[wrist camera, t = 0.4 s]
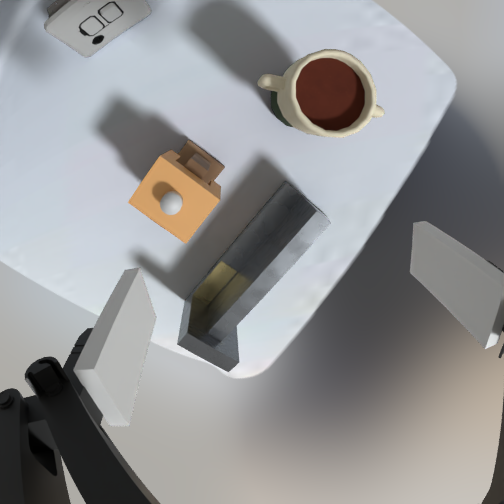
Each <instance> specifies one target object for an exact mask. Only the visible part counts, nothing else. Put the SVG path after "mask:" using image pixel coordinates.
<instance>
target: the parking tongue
mask: <svg viewBox="0 0 504 504" xmlns="http://www.w3.org/2000/svg"><path fill="white" fill-rule="evenodd" d="M178 155H180V156H181V157H180V158H179V159H178V161H177V162H178V163H180V164H181V165H183V166H184V167H185V168H187V169H188V170H189V171H191V172H192V173H193V174H195V175H196V176H197V177H199V178H200V179H201V180H203V181H204V182H205V183H207V184H208V183H209V182H210V181H211V180H213V181H214V180H215V179H216V178H217V176H218V175H219V174H220V173H221V171H222V170H223V169H224V168H225V166H224V165H222V164H221V163H220V162H218V161H217V160H216V159H214V158H213V157H212V156H210V155H209V154H208V153H206V152H205V151H204V150H202V149H201V148H200V147H198V146H197V145H196V144H194V143H193V142H192V141H190V140H188V142H187V143H186V144H185V145H184V147H183V148H182V149H181V151H180V152H179V153H178ZM148 218H149V217H148ZM151 220H152V219H151ZM155 223H156V222H155ZM158 225H159V224H158ZM161 227H162V226H161ZM162 228H163V227H162Z"/></svg>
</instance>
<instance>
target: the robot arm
mask: <svg viewBox="0 0 504 504" xmlns="http://www.w3.org/2000/svg"><path fill="white" fill-rule="evenodd" d="M410 273H411V274H412V275H413V276H414V277H415V278H416V279H417V280H418V281H420V282H421V283H422V284H423V285H424V286H425V287H426V288H427V289H428V290H429V291H430V292H431V293H432V294H433V295H434V296H435V297H436V298H437V299H438V300H439V301H440V302H441V303H442V304H443V305H444V306H445V307H446V308H447V309H448V310H449V311H450V312H451V313H452V314H453V315H454V316H455V317H456V318H457V320H459V322H460V323H461V324H462V325H463V326H464V327H465V328H466V329H467V330H468V331H469V332H470V333H471V334H472V335H473V337H475V339H476V340H477V341H478V342H479V343H480V344H481V345H482V346H483V348H485V349H486V348H488V347H491V346H493V345H495V344H497V343H498V340H499V338H500V335H501V332H502V331H503V332H504V272H503V271H502V270H501V269H500V268H497V266H495V265H494V264H493V263H491V262H490V261H487V260H485V259H483V258H482V257H480V256H479V255H477V254H476V253H474V252H473V251H471V250H470V249H468V248H467V247H465V246H464V245H462V244H461V243H460V242H458V241H456V240H455V239H453V238H452V237H450V236H449V235H447V234H446V233H444V232H442V231H441V230H439V229H438V228H436V227H435V226H433V225H431V224H430V223H428V222H426V221H423V222H417V223H414V224H413V241H412V255H411V267H410ZM155 321H156V314H155V312H154V309H153V306H152V303H151V300H150V297H149V294H148V291H147V288H146V285H145V282H144V278H143V275H142V272H141V269H140V268H134V269H128V270H125V271H124V273H123V275H122V276H121V278H120V280H119V282H118V283H117V285H116V287H115V289H114V291H113V292H112V294H111V296H110V298H109V300H108V302H107V303H106V305H105V307H104V309H103V311H102V313H101V315H100V317H99V318H98V320H97V322H96V324H95V326H94V328H88V329H87V330H86V331H84V332H83V333H82V334H81V335H80V336H79V338H78V340H77V342H76V343H75V347H73V349H72V351H71V354H70V355H69V357H68V359H67V361H66V363H65V365H64V367H63V369H62V367H61V365H60V363H59V362H58V361H57V359H56V358H54V357H44V358H41V359H39V360H37V361H35V362H34V363H32V364H31V365H30V366H29V368H28V369H27V371H26V373H25V380H26V382H27V383H28V384H29V386H30V387H31V389H32V390H33V392H34V393H35V394H36V395H34V396H30V397H26V398H23V397H22V395H21V394H20V392H19V391H18V390H17V389H13V388H11V389H7V390H5V391H2V392H1V393H0V504H71V503H70V499H69V495H68V490H67V486H66V482H65V476H64V471H63V466H62V460H61V456H62V458H63V461H64V463H65V465H66V467H67V469H68V471H69V473H70V475H71V477H72V479H73V481H74V483H75V484H76V486H77V488H78V490H79V492H80V494H81V495H82V497H83V499H84V501H85V502H86V504H160V503H159V502H158V500H157V499H156V498H155V497H154V496H153V495H152V493H151V492H150V491H149V490H148V489H147V488H146V487H145V485H144V484H143V483H142V481H141V480H140V479H139V478H138V476H136V474H135V472H134V471H133V470H132V469H131V467H130V466H129V465H128V463H127V462H126V461H125V459H124V458H123V457H122V455H121V454H120V452H119V451H118V449H117V448H116V447H115V445H114V444H113V442H112V441H111V439H110V438H109V436H108V435H107V433H106V432H105V430H104V429H103V428H102V426H101V425H100V424H101V420H102V417H104V418H105V420H106V421H107V422H108V423H109V425H110V426H130V421H131V417H132V412H133V408H134V403H135V398H136V395H137V390H138V386H139V382H140V378H141V374H142V370H143V366H144V361H145V358H146V354H147V350H148V347H149V343H150V339H151V335H152V332H153V328H154V325H155ZM503 353H504V344H503V347H502V349H501V352H500V354H499V358H501V356H502V354H503ZM482 504H504V399H503V413H502V423H501V431H500V439H499V446H498V453H497V458H496V464H495V470H494V474H493V479H492V483H491V487H490V489H489V491H488V493H487V495H486V497H485V498H484V500H483V502H482Z"/></svg>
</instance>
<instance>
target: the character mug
mask: <svg viewBox="0 0 504 504" xmlns="http://www.w3.org/2000/svg"><path fill="white" fill-rule="evenodd" d="M257 83H258V86H259V87H261V88H262V89H266V90H271V91H272V93H271V107H272V109H273V111H274V113H275V115H276V117H277V119H279V120H280V121H281V122H283V123H284V124H285V125H286V126H290V127H294V128H296V129H298V130H300V131H303V132H305V133H307V134H312V135H318V136H323V137H339V138H343V137H346V136H349V135H351V134H354V133H357V132H359V131H360V130H361V129H362V128H363V127H364V126H365V125H366V124H367V123H368V122H370V120H371V117H376V118H377V117H382V116H383V115H384V114H385V112H384V109H383V108H382V107H380V106H378V105H376V88H375V85H374V82H373V79H372V77H371V74H370V73H369V71H368V70H367V69H366V67H365V66H364V65H363V64H362V62H361V61H359V60H358V59H357V58H355V57H354V56H353V55H351V54H349V53H347V52H345V51H341V50H336V49H324V50H321V51H318V52H315V53H311V54H308V55H307V56H305V57H303V58H301V59H299V60H297V61H296V62H295V63H294V64H292V65H291V66H290V67H289V68H288V69H287V70H286V72H285V73H284V75H283V77H282V76H277V75H273V74H264V75H262V76H261V77H260V78H259V80H258V81H257Z"/></svg>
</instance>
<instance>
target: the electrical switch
mask: <svg viewBox="0 0 504 504" xmlns="http://www.w3.org/2000/svg"><path fill="white" fill-rule="evenodd" d="M56 3H57V4H56ZM47 11H48V13H49V19H48V20H47V21H45V23H44V28H45V30H46V32H48V33H49V34H51V35H52V36H54V37H55V38H57V39H58V40H60V41H61V42H63V43H64V44H66V45H67V46H69V47H70V48H72V49H73V50H75V51H76V52H78V53H79V54H81V55H82V56H84V57H90V56H92V55H93V54H95V53H96V52H97V51H98V50H100V49H101V48H102V47H104V46H105V45H106V44H108V43H109V42H110V41H112V40H113V39H114V38H116V37H117V36H119V35H120V34H122V33H123V32H124V31H126V30H127V29H129V28H130V27H132V26H133V25H135V24H136V23H138V22H139V21H141V20H143V19H144V18H146V17H147V16H149V15H150V13H151V11H152V10H151V9H150V7H149V5H148V4H147V2H146V1H145V0H56V1H55V2H54V3H53V4H52V5H51V6H49V7H48V8H47Z"/></svg>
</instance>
